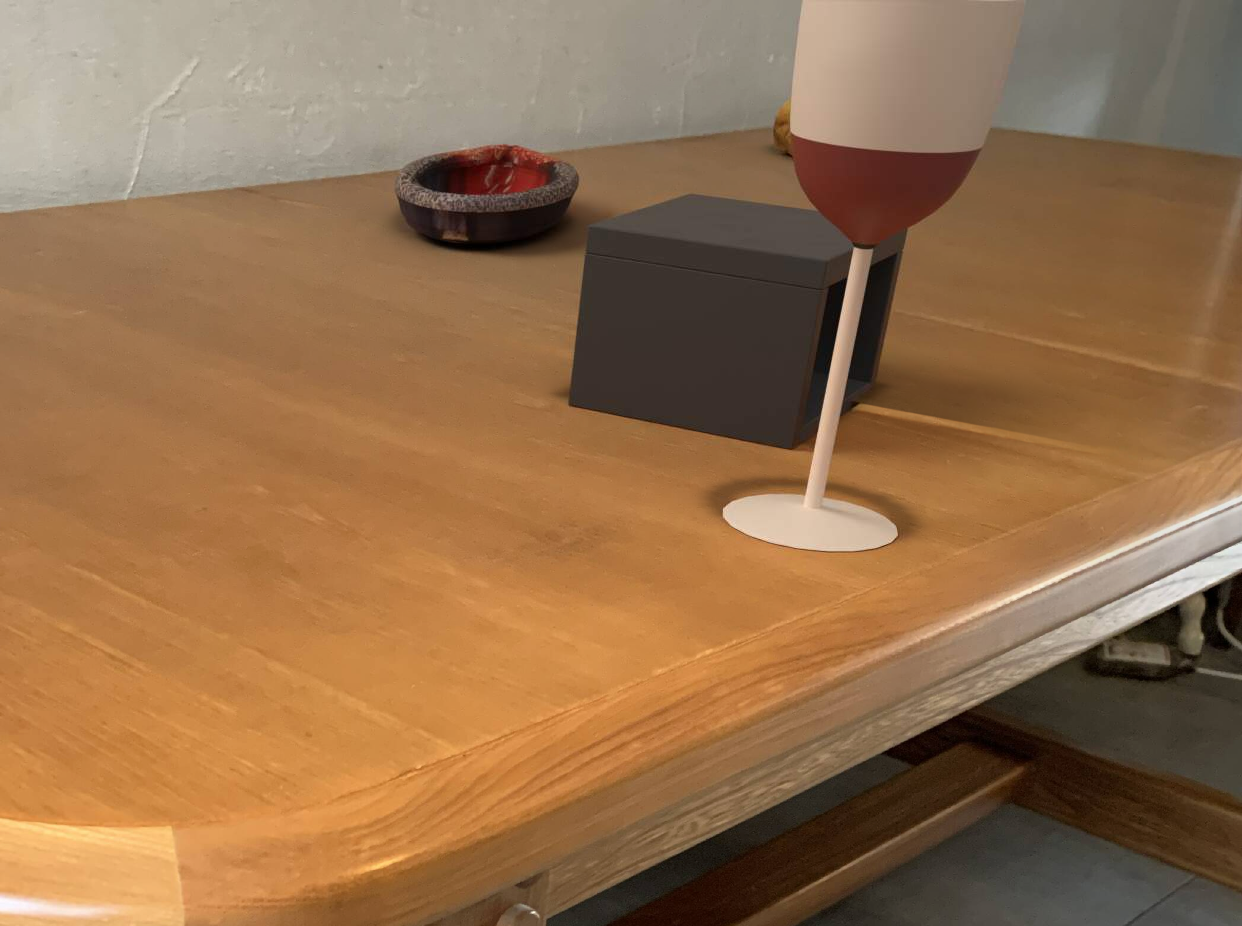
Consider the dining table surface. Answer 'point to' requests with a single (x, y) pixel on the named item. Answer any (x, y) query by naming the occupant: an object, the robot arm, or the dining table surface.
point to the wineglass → (878, 182)
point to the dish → (485, 194)
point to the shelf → (724, 317)
